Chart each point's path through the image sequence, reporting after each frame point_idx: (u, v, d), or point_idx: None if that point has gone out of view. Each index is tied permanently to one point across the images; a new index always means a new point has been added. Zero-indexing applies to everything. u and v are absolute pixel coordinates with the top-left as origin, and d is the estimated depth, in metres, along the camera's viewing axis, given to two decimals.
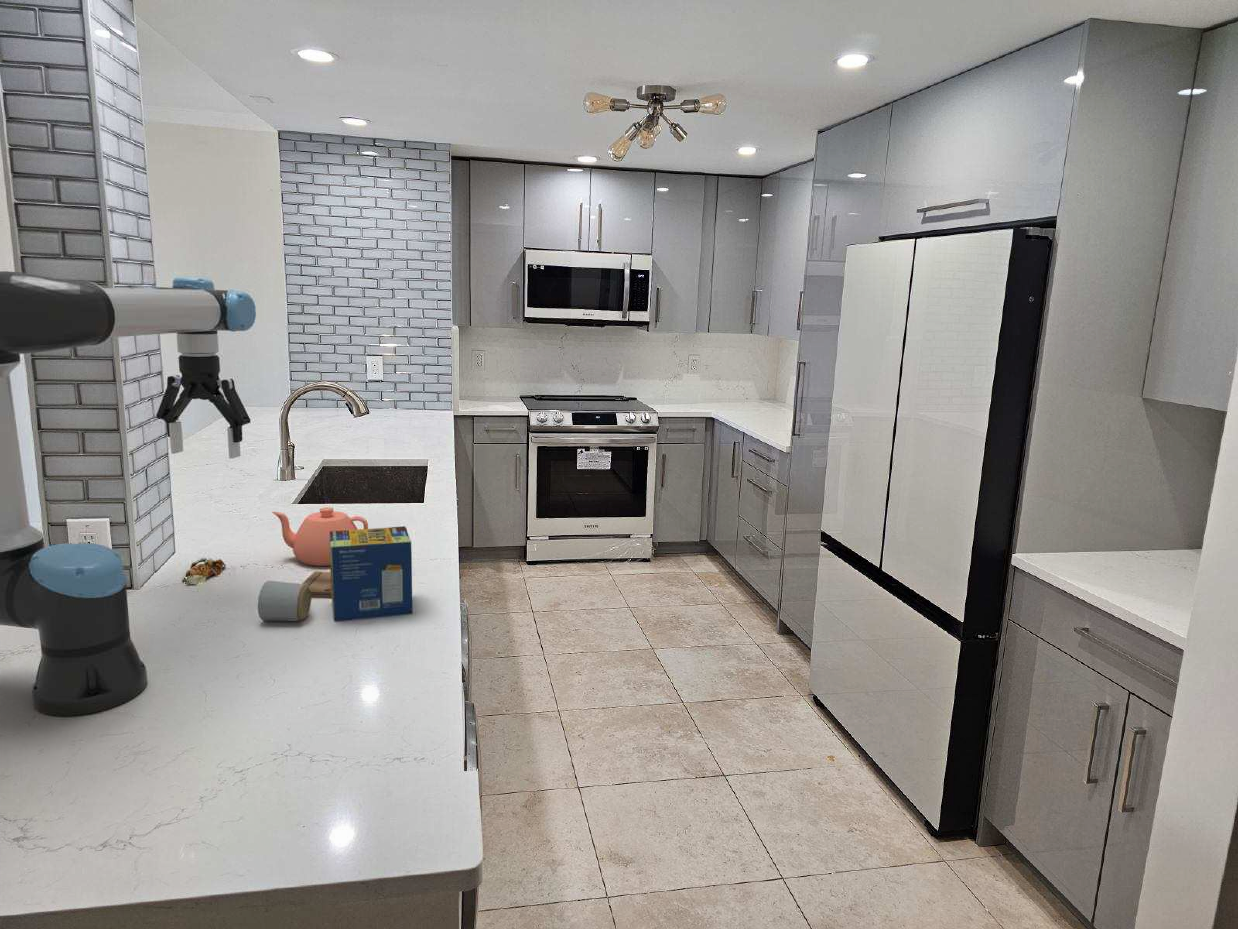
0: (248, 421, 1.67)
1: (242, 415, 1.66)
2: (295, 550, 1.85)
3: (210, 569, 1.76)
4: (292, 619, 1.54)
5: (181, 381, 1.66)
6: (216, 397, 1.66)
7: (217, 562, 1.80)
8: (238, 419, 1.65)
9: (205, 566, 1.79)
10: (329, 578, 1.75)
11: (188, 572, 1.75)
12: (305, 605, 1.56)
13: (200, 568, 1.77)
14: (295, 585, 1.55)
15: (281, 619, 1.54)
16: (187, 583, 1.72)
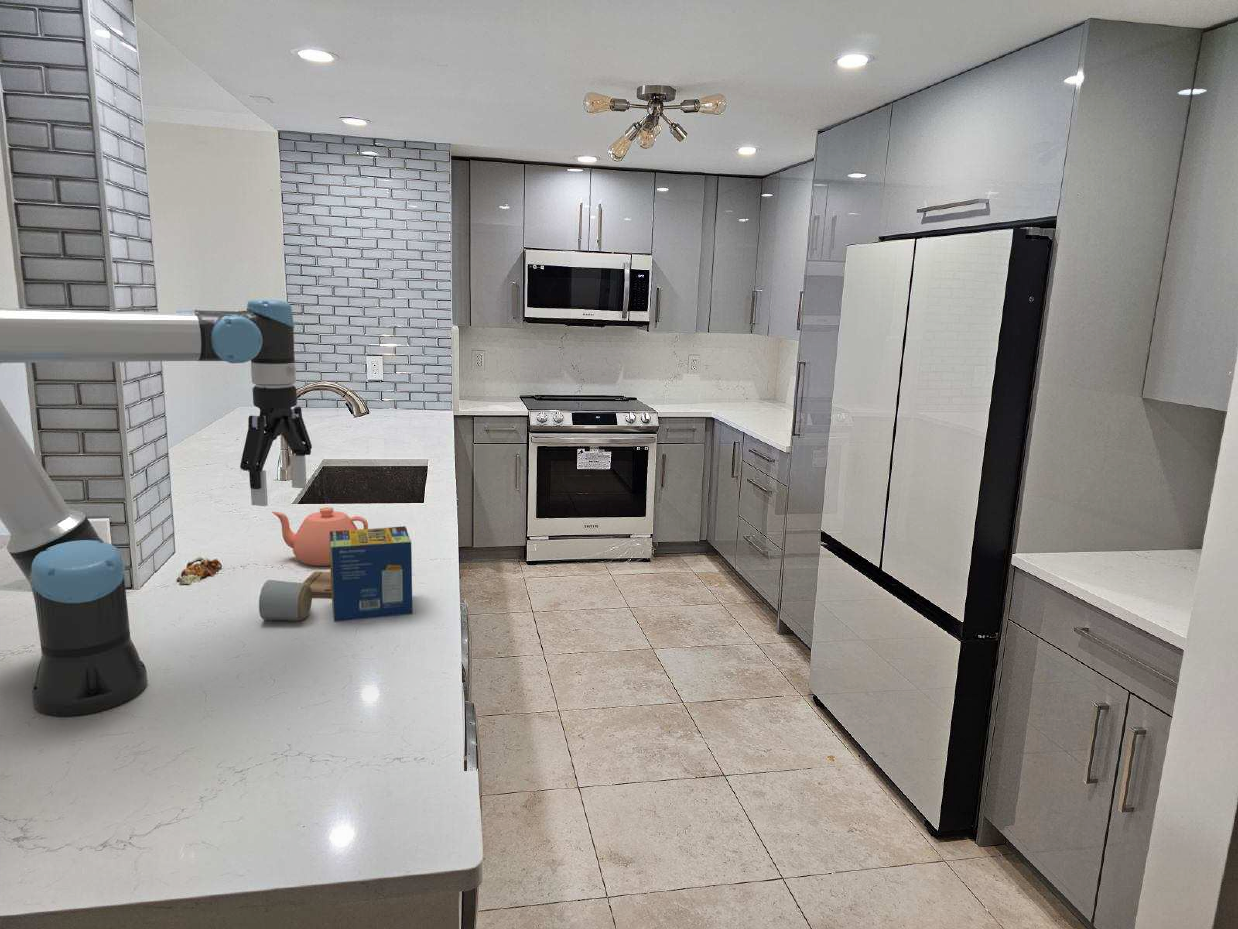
0: (249, 467, 1.41)
1: (245, 458, 1.42)
2: (295, 551, 1.85)
3: (205, 569, 1.76)
4: (293, 618, 1.54)
5: None
6: None
7: (213, 562, 1.80)
8: None
9: (201, 566, 1.79)
10: (329, 578, 1.75)
11: (183, 571, 1.76)
12: (306, 604, 1.56)
13: (195, 568, 1.77)
14: (296, 584, 1.55)
15: (282, 618, 1.54)
16: (181, 582, 1.72)
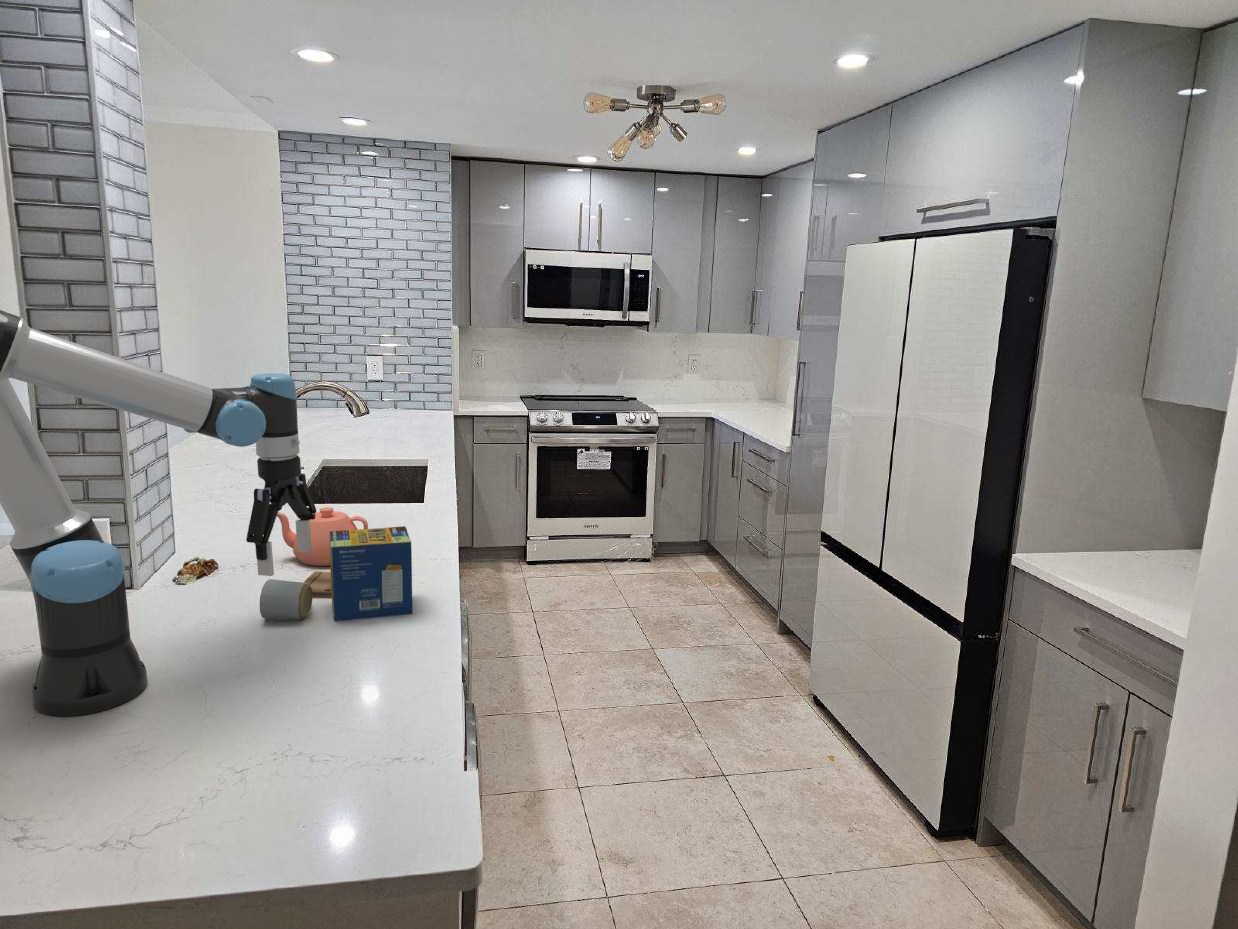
0: (255, 541, 1.44)
1: (251, 532, 1.45)
2: (295, 550, 1.85)
3: (201, 569, 1.76)
4: (293, 617, 1.55)
5: None
6: None
7: (209, 562, 1.80)
8: None
9: (197, 565, 1.79)
10: (329, 578, 1.75)
11: (179, 571, 1.76)
12: (306, 603, 1.57)
13: (192, 567, 1.77)
14: (296, 583, 1.56)
15: (282, 617, 1.55)
16: (177, 582, 1.72)
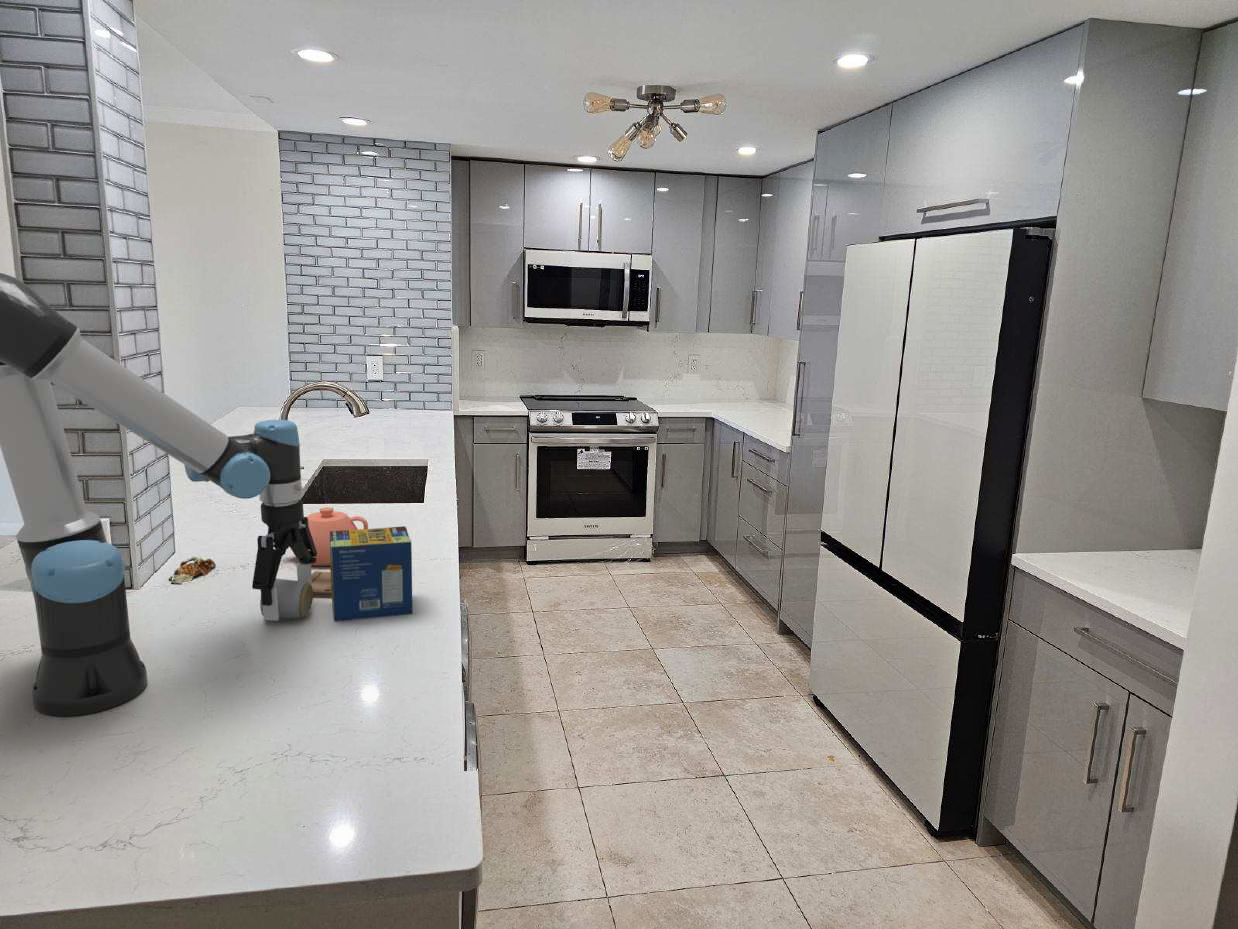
0: (260, 588, 1.47)
1: (257, 579, 1.47)
2: None
3: (198, 568, 1.77)
4: (294, 616, 1.55)
5: None
6: None
7: (206, 562, 1.80)
8: None
9: (194, 565, 1.79)
10: (329, 578, 1.75)
11: (176, 571, 1.76)
12: (307, 602, 1.57)
13: (188, 567, 1.77)
14: (297, 582, 1.56)
15: (283, 616, 1.55)
16: (173, 582, 1.72)
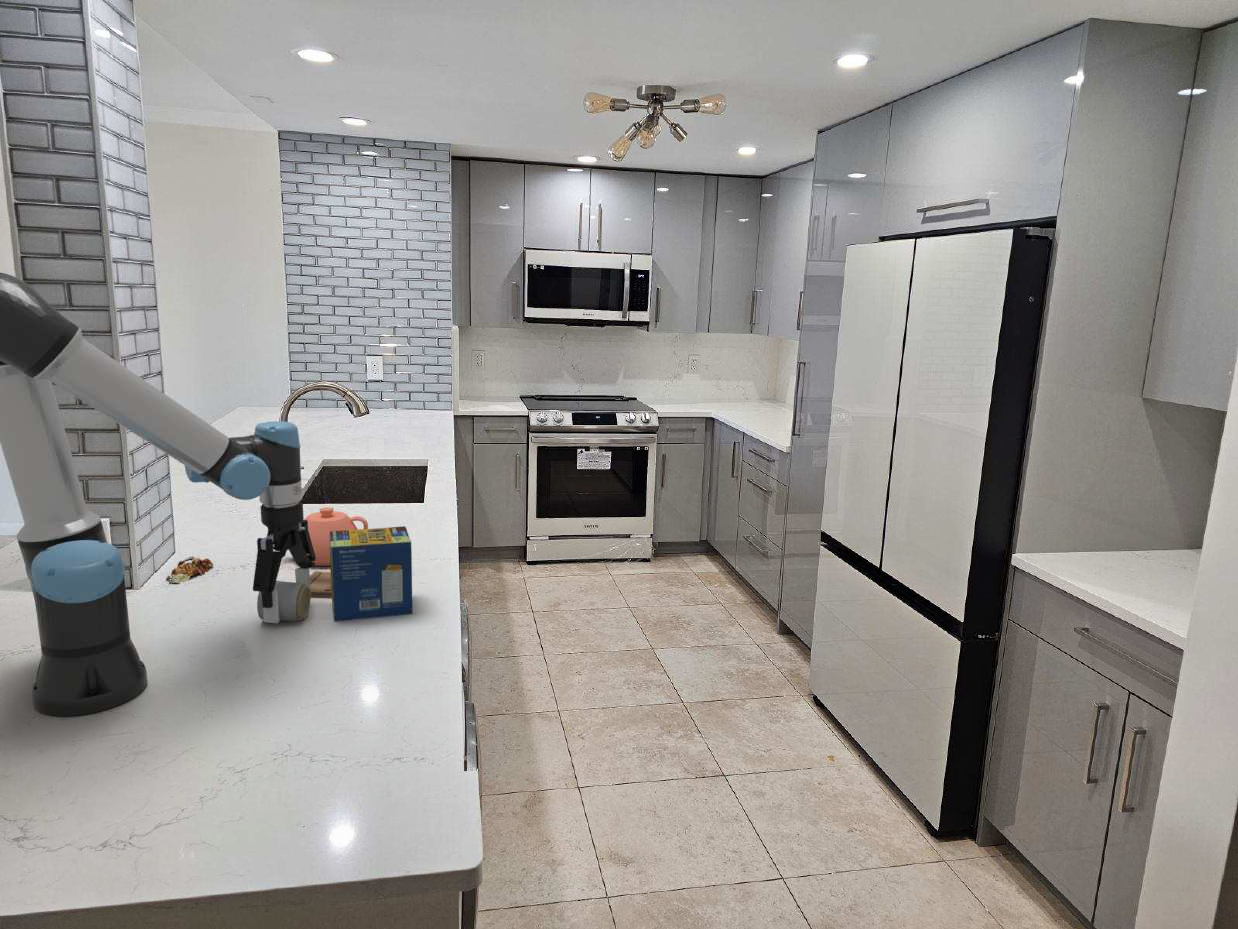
0: (261, 590, 1.47)
1: (257, 581, 1.47)
2: None
3: (195, 568, 1.77)
4: (291, 618, 1.54)
5: None
6: None
7: (204, 562, 1.80)
8: None
9: (191, 565, 1.79)
10: (329, 578, 1.75)
11: (173, 570, 1.76)
12: (304, 604, 1.56)
13: (186, 567, 1.77)
14: (294, 584, 1.55)
15: (280, 618, 1.54)
16: (170, 581, 1.72)
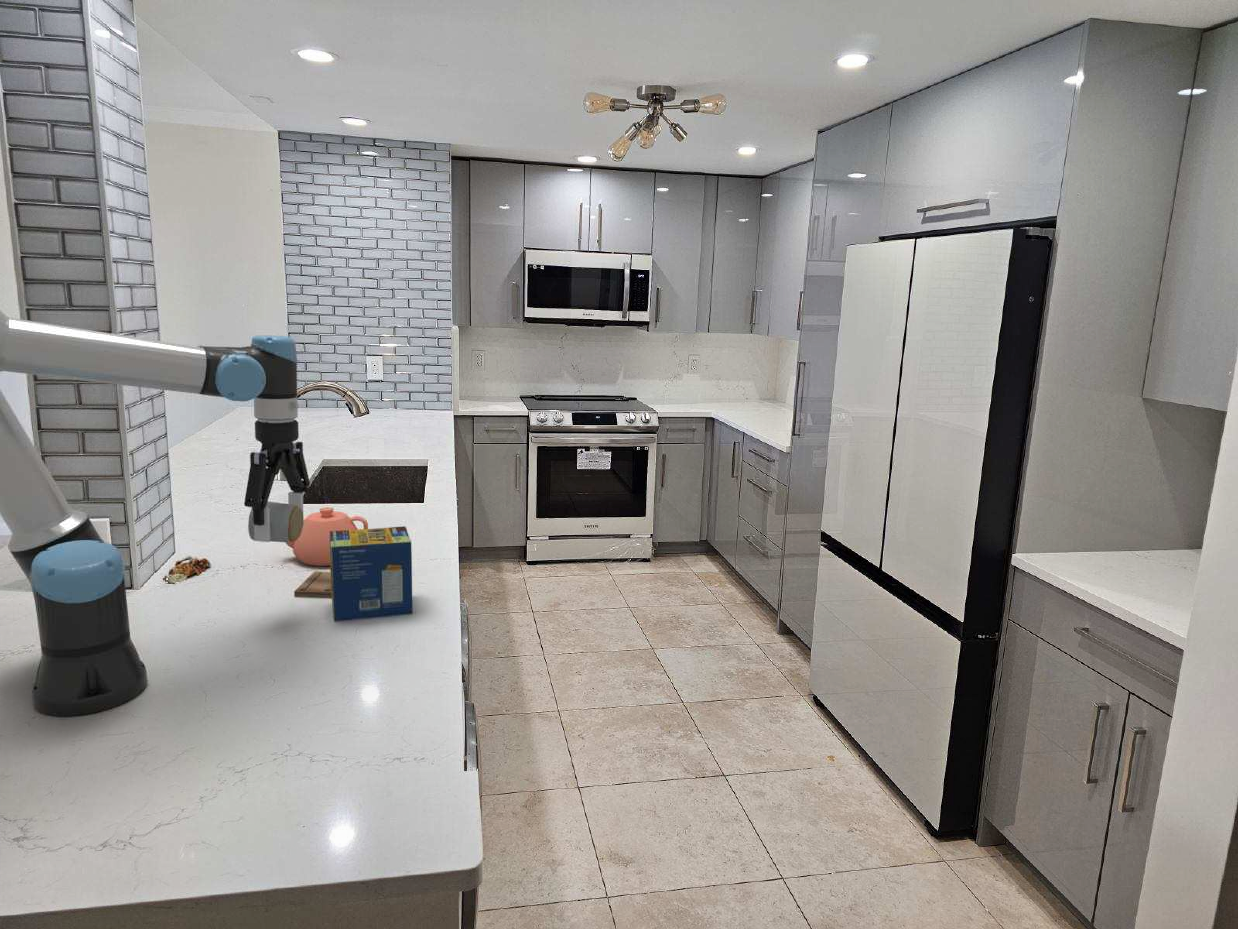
0: (253, 505, 1.43)
1: (249, 496, 1.44)
2: (295, 550, 1.85)
3: (192, 568, 1.77)
4: (283, 539, 1.50)
5: None
6: None
7: (201, 561, 1.80)
8: None
9: (189, 565, 1.79)
10: (329, 578, 1.75)
11: (171, 570, 1.76)
12: (297, 526, 1.52)
13: (183, 566, 1.78)
14: (287, 505, 1.51)
15: (272, 539, 1.50)
16: (167, 581, 1.72)
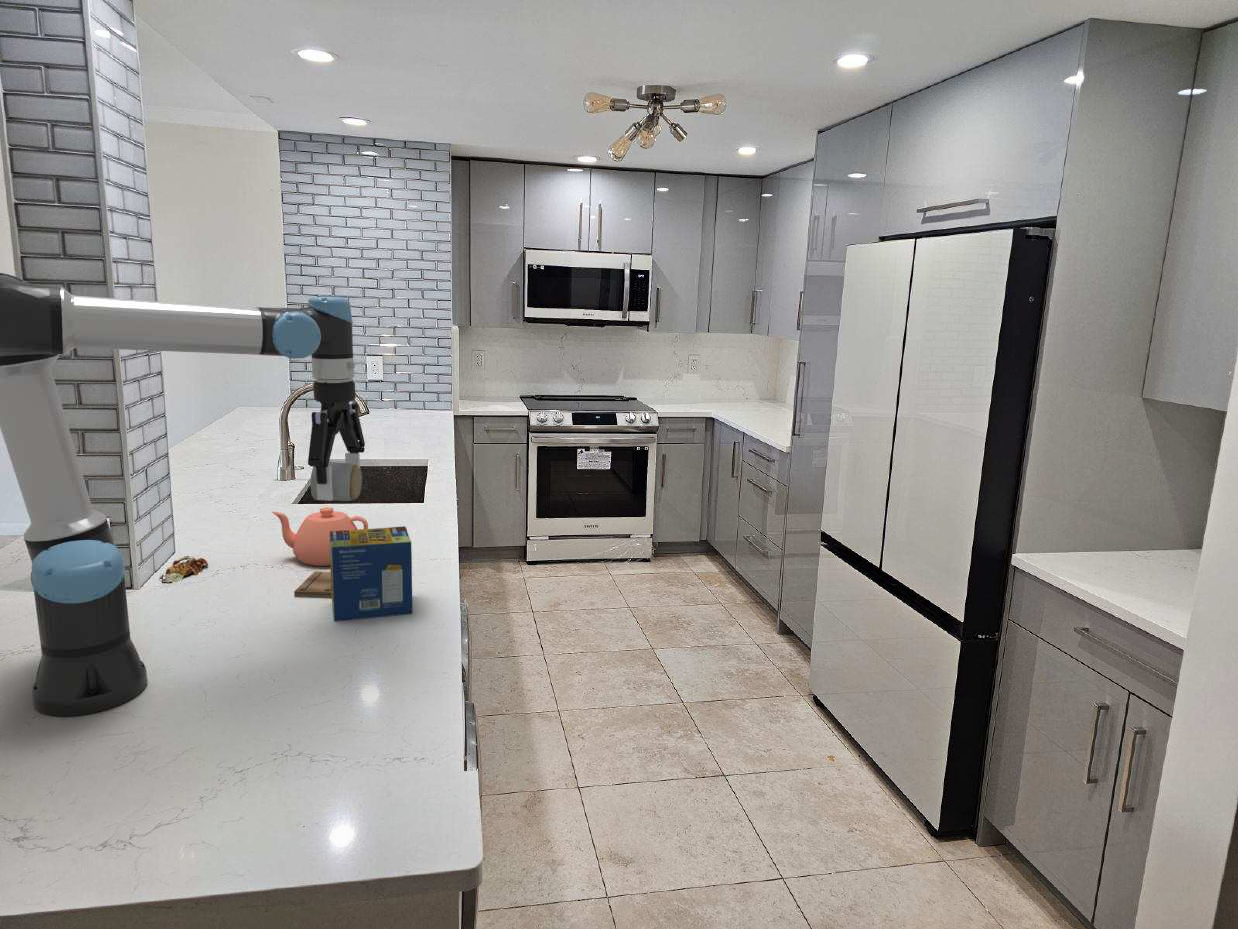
0: (316, 463, 1.46)
1: (312, 455, 1.46)
2: (295, 551, 1.85)
3: (189, 567, 1.77)
4: (344, 497, 1.53)
5: None
6: None
7: (198, 561, 1.81)
8: None
9: (186, 564, 1.79)
10: (329, 578, 1.75)
11: (168, 570, 1.76)
12: (357, 484, 1.55)
13: (180, 566, 1.78)
14: (347, 464, 1.54)
15: (333, 497, 1.53)
16: (163, 581, 1.72)
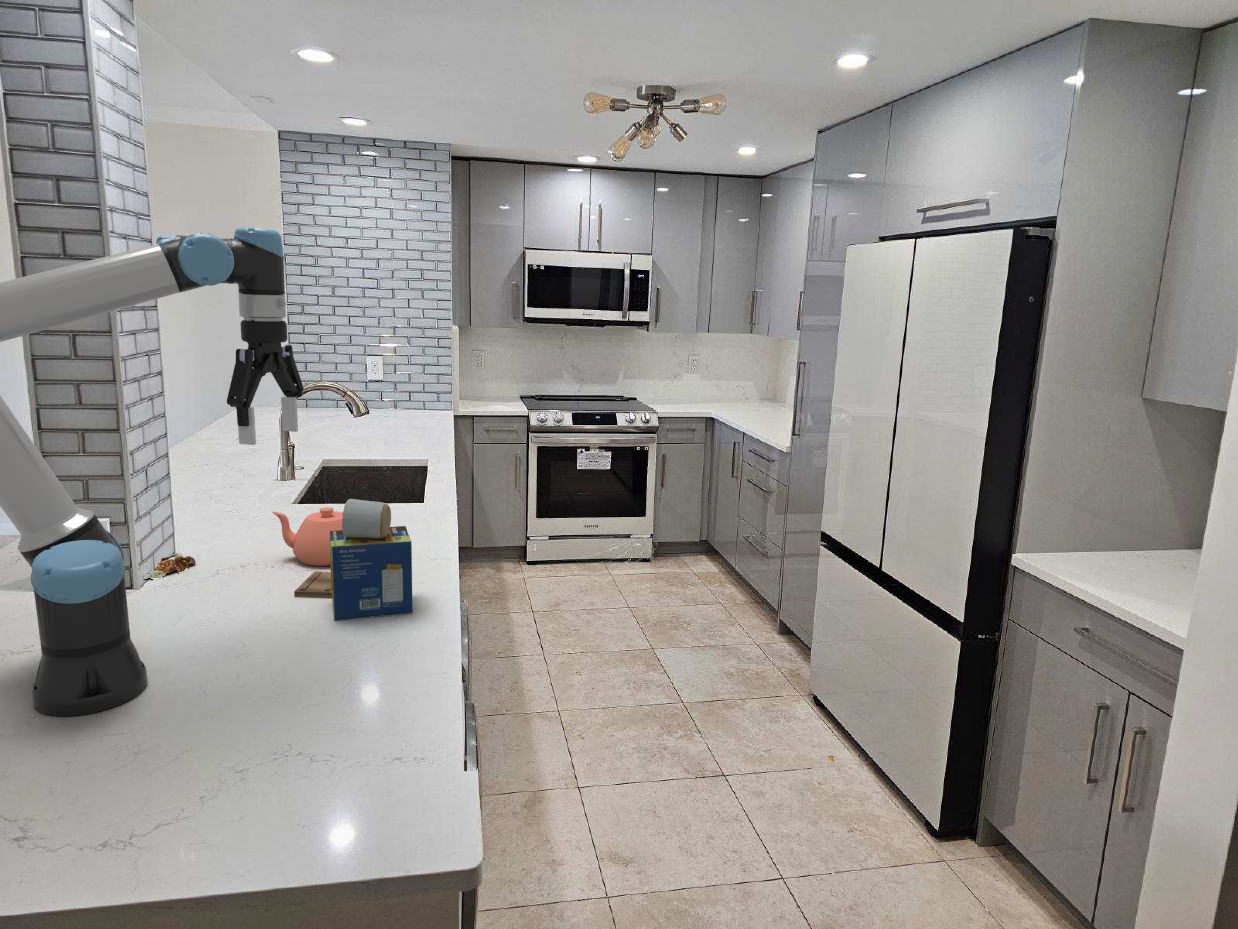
0: (236, 402, 1.34)
1: (232, 393, 1.35)
2: (295, 551, 1.85)
3: (173, 565, 1.78)
4: (375, 536, 1.56)
5: None
6: None
7: (185, 559, 1.81)
8: None
9: (172, 562, 1.80)
10: (329, 578, 1.75)
11: None
12: (386, 522, 1.58)
13: (166, 563, 1.79)
14: (377, 503, 1.57)
15: (364, 536, 1.57)
16: None
